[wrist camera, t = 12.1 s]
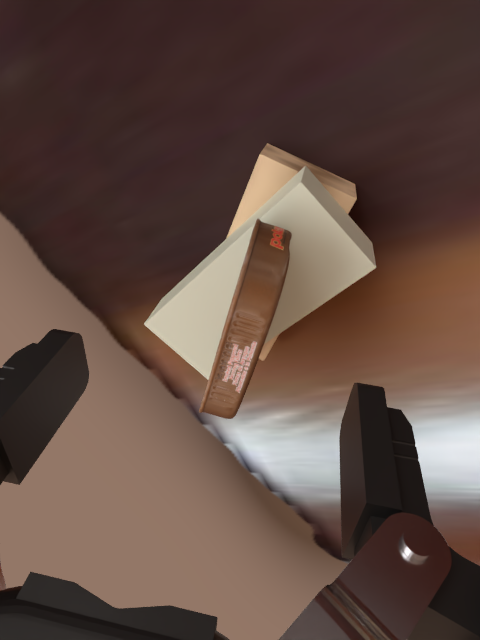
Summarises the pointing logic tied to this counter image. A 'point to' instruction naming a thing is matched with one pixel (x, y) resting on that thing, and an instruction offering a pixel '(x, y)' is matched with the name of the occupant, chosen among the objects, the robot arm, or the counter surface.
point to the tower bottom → (271, 177)
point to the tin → (248, 319)
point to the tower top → (301, 279)
